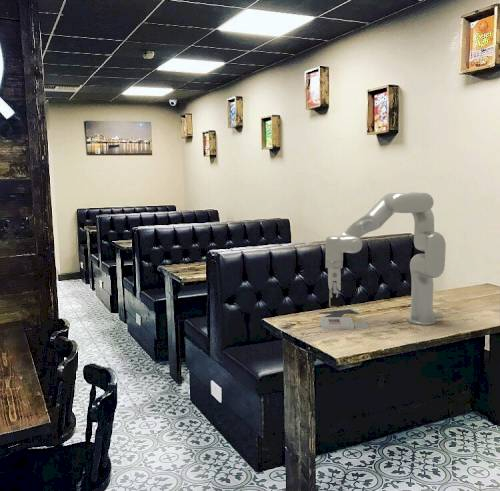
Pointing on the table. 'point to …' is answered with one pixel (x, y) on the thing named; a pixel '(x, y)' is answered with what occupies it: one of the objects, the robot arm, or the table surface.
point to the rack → (340, 323)
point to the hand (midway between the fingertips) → (333, 304)
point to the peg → (329, 298)
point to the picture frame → (338, 312)
